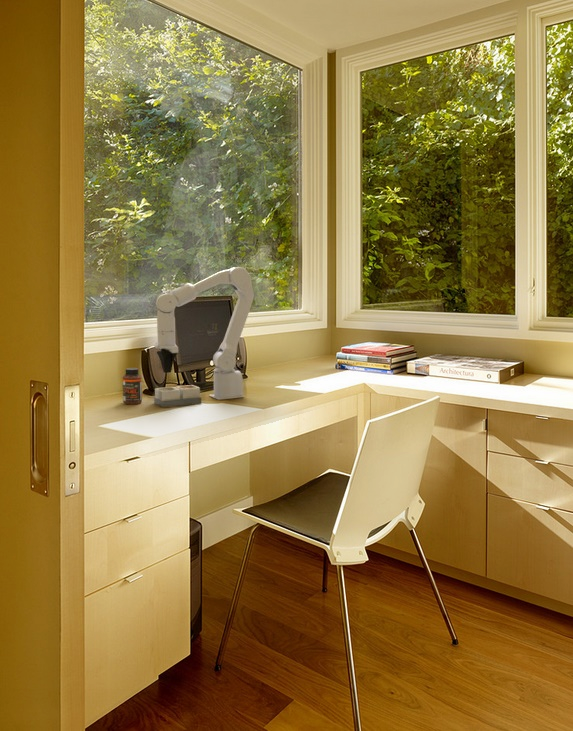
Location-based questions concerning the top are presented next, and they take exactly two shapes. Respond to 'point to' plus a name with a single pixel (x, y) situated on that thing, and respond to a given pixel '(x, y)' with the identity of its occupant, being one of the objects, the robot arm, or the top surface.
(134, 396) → the supplement bottle
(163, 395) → the knob mount
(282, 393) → the top surface
